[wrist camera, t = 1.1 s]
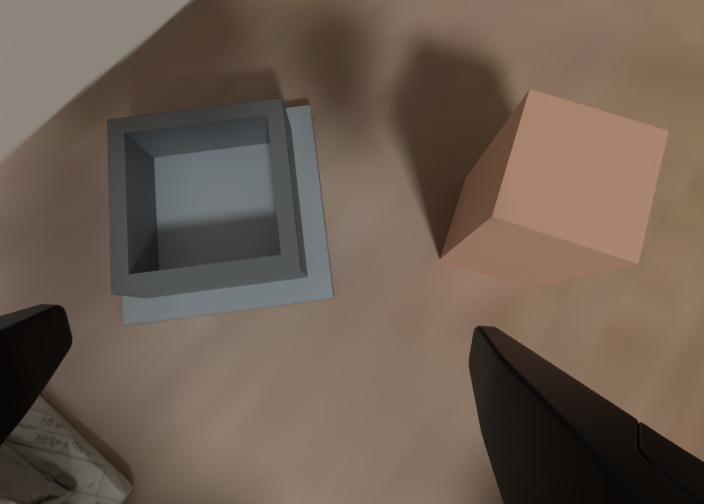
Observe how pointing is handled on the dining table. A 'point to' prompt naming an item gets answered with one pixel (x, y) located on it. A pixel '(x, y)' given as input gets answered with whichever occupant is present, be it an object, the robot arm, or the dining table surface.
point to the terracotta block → (557, 194)
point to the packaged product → (55, 464)
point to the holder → (216, 211)
